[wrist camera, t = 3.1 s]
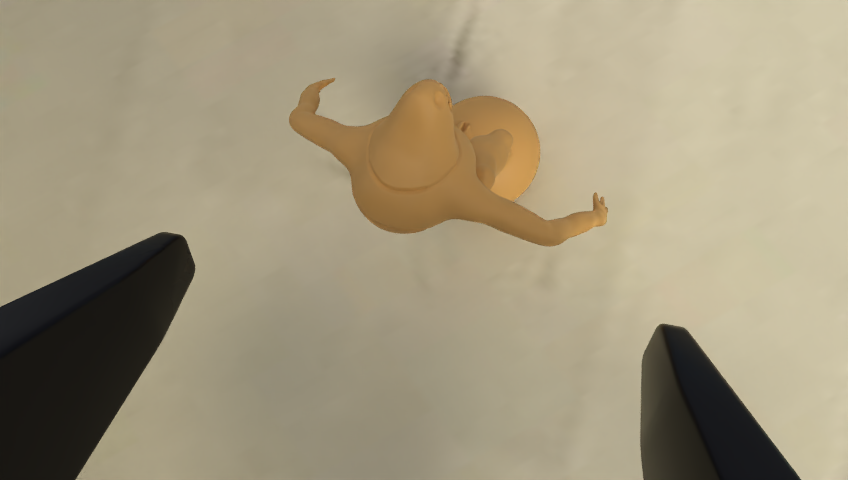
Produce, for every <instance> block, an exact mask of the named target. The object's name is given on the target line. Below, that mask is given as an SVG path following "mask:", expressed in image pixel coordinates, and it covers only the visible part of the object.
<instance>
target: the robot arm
mask: <svg viewBox="0 0 848 480" xmlns="http://www.w3.org/2000/svg"><path fill="white" fill-rule="evenodd" d="M194 273H195V264H194V261H193V258H192V255H191V252H190V249H189V247H188V244H187V241H186V239H185V238H184V237H183V236H182V235H179V234H174V233H168V232H161V233H158V234H156V235H154V236H152V237H150V238H147V239H145V240H143V241H141V242H139V243H137V244H135V245H132V246H130V247H128V248H126V249H124V250H122V251H120V252H117V253H115V254H113V255H111V256H109V257H107V258H104V259H102V260H100V261H98V262H96V263H94V264H92V265H89V266H87V267H85V268H83V269H81V270H79V271H77V272H74V273H72V274H70V275H68V276H66V277H64V278H62V279H59V280H57V281H55V282H53V283H51V284H49V285H46V286H44V287H42V288H40V289H38V290H36V291H34V292H31V293H29V294H27V295H25V296H23V297H21V298H19V299H16V300H14V301H12V302H10V303H8V304H6V305H4V306H1V307H0V480H76V478H77V476H78V475H79V473H80V472H81V470H82V468H83V467H84V465H85V464H86V462H87V460H88V459H89V457H90V456H91V454H92V452H93V451H94V449H95V448H96V446H97V444H98V443H99V441H100V440H101V438H102V436H103V435H104V433H105V432H106V430H107V428H108V427H109V425H110V424H111V422H112V420H113V419H114V417H115V416H116V414H117V412H118V411H119V409H120V408H121V406H122V404H123V403H124V401H125V400H126V398H127V396H128V395H129V393H130V392H131V390H132V388H133V387H134V385H135V384H136V382H137V380H138V379H139V377H140V376H141V374H142V372H143V371H144V369H145V368H146V366H147V364H148V363H149V361H150V360H151V358H152V356H153V355H154V353H155V352H156V350H157V348H158V347H159V345H160V343H161V342H162V340H163V338H164V336H165V334H166V332H167V330H168V328H169V326H170V324H171V322H172V320H173V318H174V316H175V314H176V312H177V310H178V308H179V306H180V304H181V301H182V299H183V297H184V295H185V293H186V291H187V289H188V287H189V285H190V283H191V281H192V279H193V276H194ZM640 446H641V459H642V469H643V478H644V480H801V479H800V477H799V476H798V475H797V473H796V472H795V471H794V470H793V468H792V467H791V466H790V464H789V463H788V462H787V460H786V459H785V458H784V456H783V455H782V454H781V452H780V451H779V450H778V449H777V447H776V446H775V445H774V443H773V442H772V441H771V439H770V438H769V437H768V435H767V434H766V433H765V431H764V430H763V429H762V428H761V426H760V425H759V424H758V422H757V421H756V420H755V418H754V417H753V416H752V414H751V413H750V412H749V410H748V409H747V408H746V406H745V405H744V404H743V403H742V401H741V400H740V399H739V397H738V396H737V395H736V393H735V392H734V391H733V389H732V388H731V387H730V385H729V384H728V383H727V382H726V380H725V379H724V378H723V376H722V375H721V374H720V372H719V371H718V370H717V368H716V367H715V366H714V364H713V363H712V362H711V361H710V359H709V358H708V357H707V355H706V354H705V353H704V351H703V350H702V349H701V347H700V346H699V345H698V343H697V342H696V341H695V340H694V338H693V337H692V336H691V334H690V333H689V332H688V331H687V330H686V329H685V328H683V327H679V326H673V325H668V324H660V325H659V326H658V327H657V328H656V330H655V332H654V334H653V336H652V338H651V340H650V342H649V344H648V346H647V348H646V350H645V352H644V355H643V359H642V377H641V430H640Z"/></svg>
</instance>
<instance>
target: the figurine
mask: <svg viewBox="0 0 848 480" xmlns="http://www.w3.org/2000/svg"><path fill="white" fill-rule="evenodd" d="M333 81H335V78H332V79H327V80H322V81H319V82H316V83H313V84H311V85H309V86H308V87H307V88H306V89H305V90H304V91H303V92H302V94H301V96H300V100H299V104H298V106H297V107H296V108H295V109H294V110H293V111H292V112H291V114H290V117H289V123H290V126H291V127H292V129H293V130H294V131H296V132H297V133H298V134H300V135H301V136H303V137H304V138H306V139H308V140H309V141H311V142H313V143H314V144H316V145H318V146H320V147H321V148H323V149H325V150H327V151H329V152H331V153H332V154H333V155H334V156H335V157H336V158H337V159H338V160H339V161H340V162H341V163H342V164H343V165H344V166H345V167H346V168H347V169H348V171H349V173H350V176H351V182H352V192H353V196H354V199H355V201H356V204H357V206H358V207H359V209H360V211H361V212H362V213H363V215H364V216H365V217H366V218H367V219H368V220H369V221H370V222H371V223H373V224H374V225H376V226H377V227H379V228H381V229H383V230H386V231H389V232H393V233H400V234H408V233H416V232H420V231H423V230H426V229H427V228H431V227H433V226H435V225H437V224H440V223H442V222H444V221H446V220H450V219H462V220H467V221H473V222H479V223H483V224H486V225H488V226H491V227H493V228H495V229H497V230H500V231H502V232H505V233H507V234H510V235H513V236H515V237H518V238H521V239H523V240H526V241H529V242H532V243H535V244H538V245H542V246H556V245H559V244H561V243H563V242H564V241H565V240H567V239H568V238H570V237H574V236H577V235H579V234H581V233H584V232H587V231H589V230H590V229H591V228H593V227H595V226H603V225H604V224H605V223H606V222H607V212H608V208H607V207H605V203H604V198H603V197H601V198H600V202H599V199H598V195H597V193H594V195H593V211H584V212H577V213H573V214H571V215H569V216H567V217H565V218H559V219H554V220H549V221H546V220H544V219H543V218H541V217H539V216H538V215H536V214H534V213H533V212H531V211H529V210H527V209H526V208H524V207H522V206H520V205H518V204H516V203H514V202H512V201H513V200H515V199H516V198H518V197H519V196H520V195H521V194H522V193H523V192H524V191H525V190H526V189H527V188H528V186H529V185H530V183H531V182H532V180H533V178H534V176H535V174H536V172H537V169H538V165H539V160H540V144H539V138H538V135H537V132H536V129H535V127H534V125H533V123H532V122H531V120H530V119H529V117H528V116H527V115H526V114H525V113H524V112H523V111H522V110H521V109H520V108H519V107H517V106H516V105H514V104H513V103H511V102H509V101H507V100H504V99H501V98H498V97H492V96H477V97H472V98H468V99H465V100H463V101H460V102H458V103H457V104H455V105H453V106H452V101H451V97H450V95H449V92H448V90H447V89H446V88H445V87H444V86H443V85H442V84H441V83H438V82H437V81H435V80H432V79H425V80H422V81H419V82H417V83H415V84H414V85H413V86H411V87H410V88H409V89H408V90H407V91H406V92H405V93H404V94H403V96H402V97H401V98H400V100H399V101H398V103H397V104H396V106H395V108H394V109H393V111H392V112H391V113H390V115H389V116H387V117H384V118H382V119H380V120H378V121H376V122H374V123H371V124H369V125H366V126H358V127H354V126H345V125H342V124H340V123H338V122H336V121H334V120H331V119H328V118H325V117H322V116H319V115H316V114H315V112H316V110H317V108H318V106H319V102H320V97H319V93H320V90H321V89H322V88H324V87H326V86H327V85H328V84H330V83H332V82H333Z"/></svg>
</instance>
